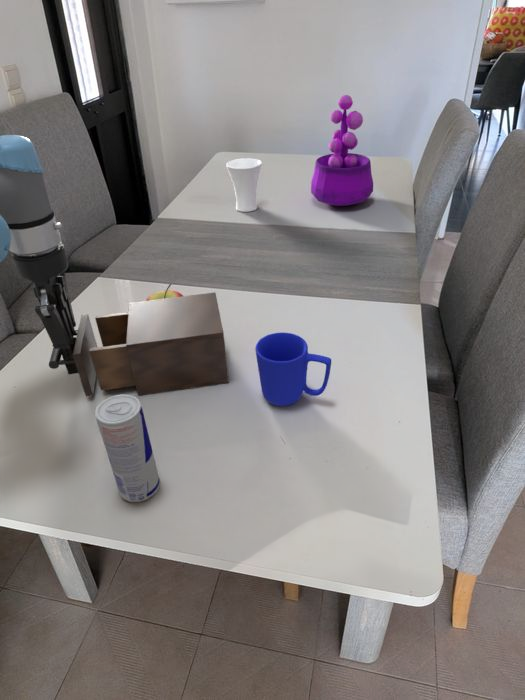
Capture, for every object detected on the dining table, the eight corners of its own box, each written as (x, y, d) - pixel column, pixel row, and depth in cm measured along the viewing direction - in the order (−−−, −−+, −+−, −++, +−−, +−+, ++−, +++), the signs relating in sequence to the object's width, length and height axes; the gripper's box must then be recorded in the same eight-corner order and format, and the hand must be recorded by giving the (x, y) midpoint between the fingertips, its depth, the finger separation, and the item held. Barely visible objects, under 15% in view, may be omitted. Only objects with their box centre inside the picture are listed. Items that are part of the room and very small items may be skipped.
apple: (194, 334, 102) (188, 290, 97) (152, 344, 100) (143, 300, 95) (185, 314, 109) (178, 272, 103) (145, 323, 107) (136, 280, 101)
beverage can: (167, 491, 71) (148, 410, 62) (129, 511, 69) (104, 430, 60) (150, 466, 75) (130, 387, 66) (113, 484, 73) (88, 404, 64)
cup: (254, 216, 152) (251, 169, 144) (223, 212, 156) (219, 166, 148) (269, 204, 160) (267, 159, 152) (239, 200, 164) (236, 156, 156)
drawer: (55, 401, 86) (39, 359, 81) (65, 358, 96) (52, 318, 91) (172, 384, 89) (164, 342, 84) (170, 344, 99) (163, 304, 93)
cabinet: (138, 395, 88) (125, 345, 82) (140, 350, 99) (129, 302, 93) (228, 382, 90) (223, 332, 84) (220, 339, 101) (215, 292, 95)
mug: (322, 421, 81) (324, 371, 75) (251, 405, 85) (247, 356, 79) (335, 389, 87) (337, 340, 81) (268, 375, 91) (265, 328, 85)
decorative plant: (373, 192, 164) (382, 88, 147) (370, 214, 150) (379, 101, 132) (315, 190, 168) (316, 89, 151) (305, 211, 154) (306, 101, 136)
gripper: (55, 262, 72) (95, 391, 86) (68, 227, 83) (101, 347, 97) (0, 269, 72) (48, 397, 85) (20, 232, 82) (60, 352, 96)
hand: (76, 370), depth 91 cm, fingers closed
